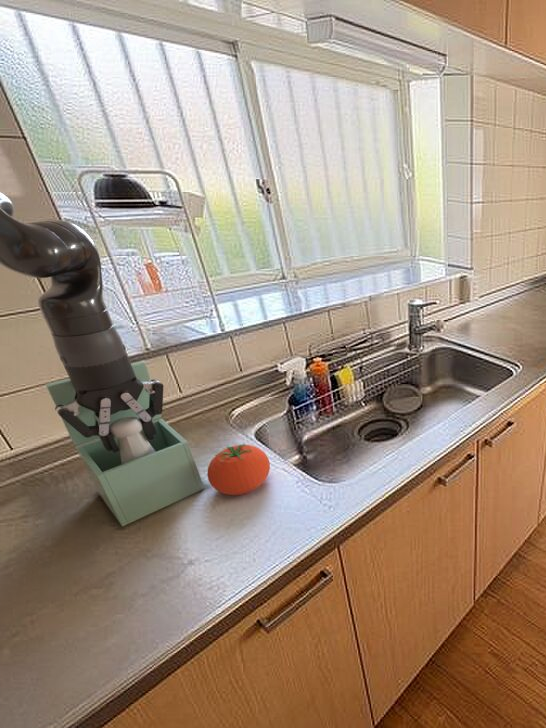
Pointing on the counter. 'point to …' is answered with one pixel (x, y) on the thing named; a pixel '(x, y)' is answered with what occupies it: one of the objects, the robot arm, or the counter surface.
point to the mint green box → (143, 474)
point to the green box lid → (66, 393)
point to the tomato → (238, 469)
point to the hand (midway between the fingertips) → (132, 443)
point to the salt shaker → (130, 439)
